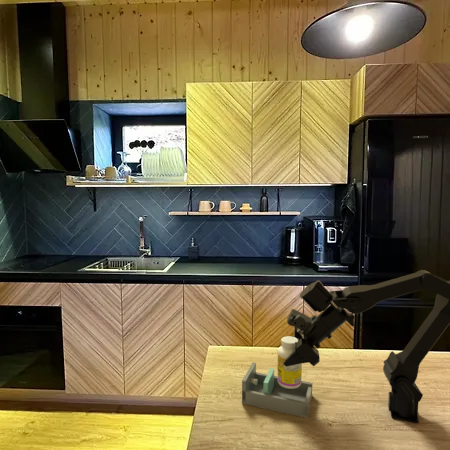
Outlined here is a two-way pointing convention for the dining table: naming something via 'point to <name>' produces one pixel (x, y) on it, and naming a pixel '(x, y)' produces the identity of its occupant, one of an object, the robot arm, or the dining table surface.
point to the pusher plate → (269, 382)
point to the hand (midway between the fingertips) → (284, 358)
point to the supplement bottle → (289, 374)
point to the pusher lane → (276, 394)
